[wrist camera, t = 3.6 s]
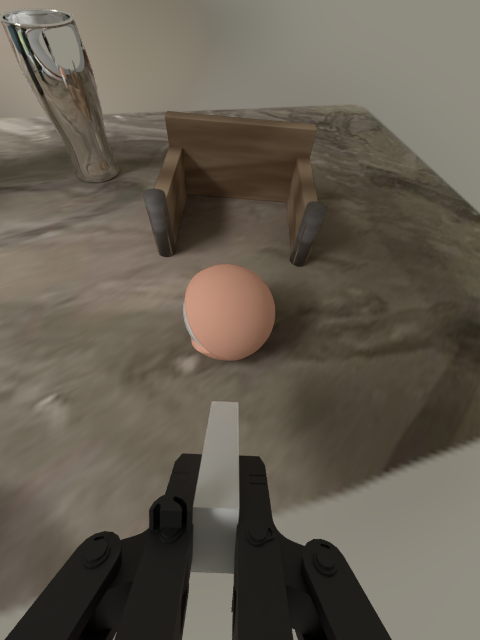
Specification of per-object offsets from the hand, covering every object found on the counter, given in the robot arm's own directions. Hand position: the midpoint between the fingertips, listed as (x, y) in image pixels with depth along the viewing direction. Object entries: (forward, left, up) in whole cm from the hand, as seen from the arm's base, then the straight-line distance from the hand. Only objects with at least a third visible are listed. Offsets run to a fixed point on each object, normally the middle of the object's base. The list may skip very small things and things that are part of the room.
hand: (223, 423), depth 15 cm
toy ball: (-8, +5, -7) cm, 11 cm away
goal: (-21, +15, -6) cm, 27 cm away
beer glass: (-41, +3, -7) cm, 41 cm away
